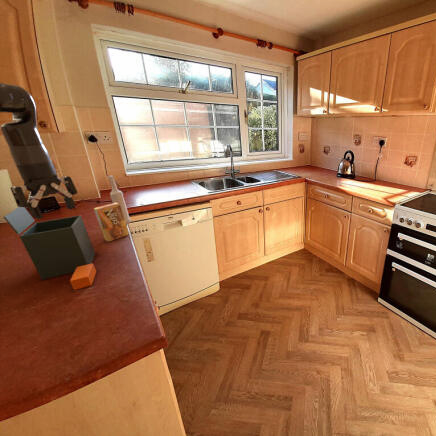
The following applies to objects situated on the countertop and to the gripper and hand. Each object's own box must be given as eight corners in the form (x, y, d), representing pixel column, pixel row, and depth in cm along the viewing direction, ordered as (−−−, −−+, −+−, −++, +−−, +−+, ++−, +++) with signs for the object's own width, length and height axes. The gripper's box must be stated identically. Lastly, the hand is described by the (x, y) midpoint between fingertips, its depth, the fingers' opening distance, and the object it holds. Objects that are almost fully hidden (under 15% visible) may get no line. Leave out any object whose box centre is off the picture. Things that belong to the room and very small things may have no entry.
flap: (19, 234, 76) (17, 234, 76) (34, 220, 87) (33, 221, 87) (4, 216, 73) (3, 217, 73) (22, 204, 84) (21, 205, 84)
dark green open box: (41, 279, 83) (19, 236, 76) (53, 262, 93) (35, 222, 87) (89, 268, 88) (71, 227, 82) (95, 252, 99) (80, 215, 93)
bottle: (119, 225, 124) (103, 177, 115) (119, 222, 128) (104, 175, 119) (131, 223, 127) (116, 176, 117) (131, 220, 131) (117, 174, 121)
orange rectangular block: (74, 290, 77) (69, 280, 76) (80, 275, 84) (76, 267, 83) (91, 285, 79) (87, 276, 78) (96, 271, 86) (92, 263, 85)
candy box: (125, 232, 116) (116, 202, 110) (129, 234, 114) (120, 203, 108) (104, 239, 110) (93, 208, 104) (108, 242, 107) (96, 209, 102)
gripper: (53, 157, 78) (72, 205, 84) (-9, 165, 65) (20, 221, 71) (69, 157, 75) (88, 206, 82) (8, 166, 63) (36, 223, 69)
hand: (56, 213), depth 76 cm, fingers open, 8 cm apart
